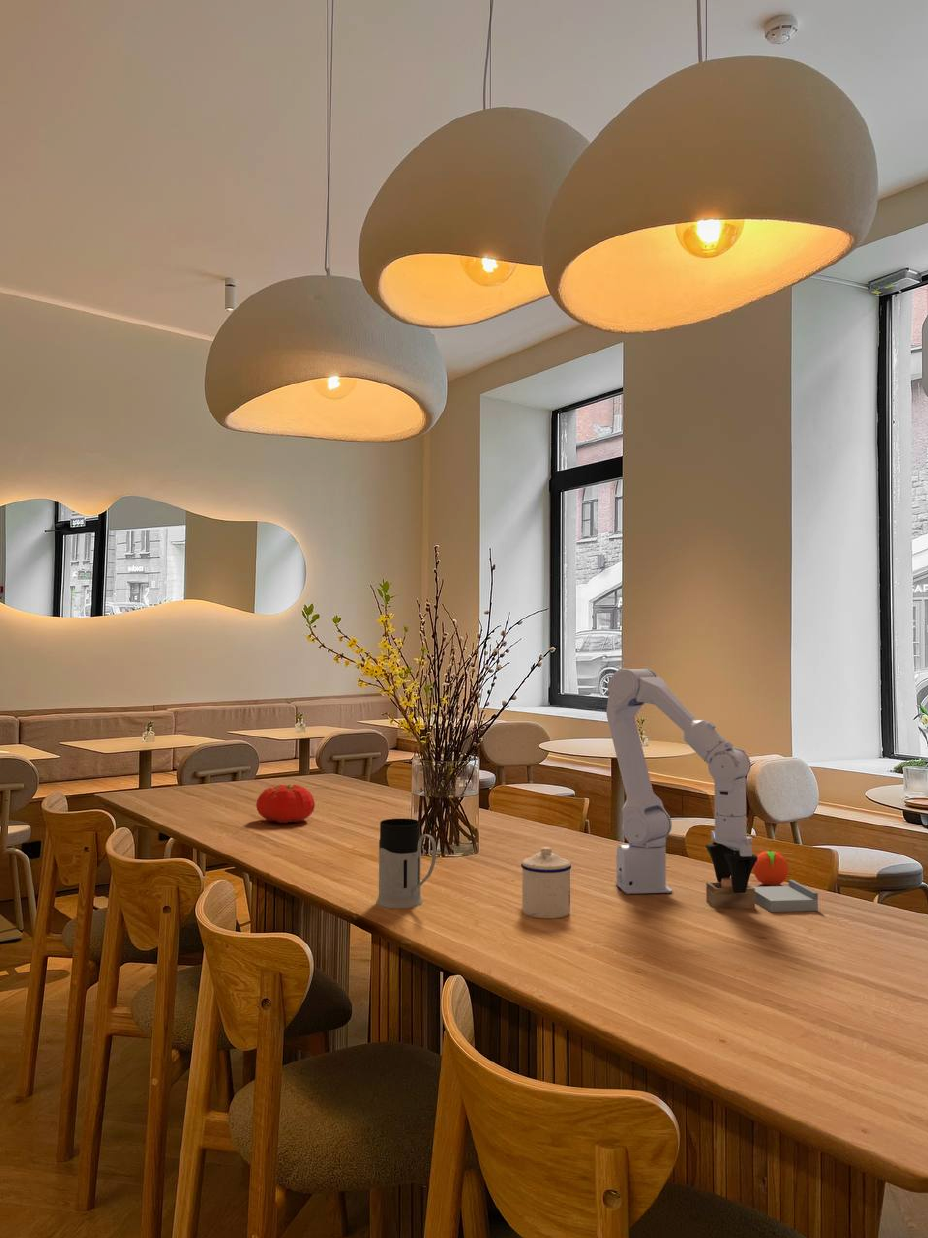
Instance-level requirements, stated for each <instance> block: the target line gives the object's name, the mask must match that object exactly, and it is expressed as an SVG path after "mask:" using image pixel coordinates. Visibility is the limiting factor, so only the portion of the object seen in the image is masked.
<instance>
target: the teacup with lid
mask: <svg viewBox="0 0 928 1238" xmlns="http://www.w3.org/2000/svg"><path fill="white" fill-rule="evenodd" d="M552 851H553V850H552V848H551V847H548V846H542V847H541V848H540V851H539V852H537V853H534V855H532V856H529V857H527V858H526V857H525V858H524V859H523V860H522V861H521V865H520V866H521V869H522V872H521V874H522V876H521V877H522V878H521V879H522V881H521V883H522V890H521V892H522V905H521V906H522V907H521V908H522V912H523V913H524V915H526V916H528V917H531V918H537V919H542V920H543V919H545V920H546V919H547V920H549V919H550V920H551V919H560V918H564V917H566V916H568V915H569V914H570V913H571V868H572V864H571V862H570V860H568V859H566V858H563V857H560V855H559V854H556V853H555V852H552Z"/></svg>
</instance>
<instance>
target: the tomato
mask: <svg viewBox="0 0 928 1238" xmlns="http://www.w3.org/2000/svg"><path fill="white" fill-rule="evenodd" d="M255 805H256V811H257V812H258V814H259V815H260V816H261V817H263V819H265V820H267V821H269V822H271V821H276V822H275V823H278V822H279V823H278V824H281V823H284V824H289V823H292V822H297V823H300V822H301V821H304V820H306V819H307V818H309V817H310V816H311V815H312V813H313V812H314V810H315V806H316V804H315V799H314V797H313V794H311V792H310V791H309V790H308V789H306V788H305V787H303V786H300V785H297V784H293V785H291V784H288V785H287V784H279V785H276V786H273V787H269V788H266V789H264V790H263V791H262V792H261V793H260V794H259V795H258V798H257V799H256V804H255ZM299 821H300V822H299ZM288 822H289V823H288Z"/></svg>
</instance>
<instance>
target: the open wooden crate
mask: <svg viewBox="0 0 928 1238" xmlns="http://www.w3.org/2000/svg"><path fill="white" fill-rule="evenodd" d="M705 883H706V887H705V888H706V892H705V893H706V896H705V898H706V900H705V901H706V902H707V903H708V904H709V905H710V906H711V907H713V908H714V910H715V909H717V910H719V909H720V910H721V909H722V910H724V909H730V910H731V909H732V910H733V909H755V908H756V902H755V888H753V887H754V886H752V885H751V884H749V883H748V885H747V889H746V893H734V891H733V888H721V882H718V881H707V882H705Z"/></svg>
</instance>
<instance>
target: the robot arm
mask: <svg viewBox="0 0 928 1238" xmlns="http://www.w3.org/2000/svg"><path fill="white" fill-rule="evenodd" d="M606 687H607V691H608V697H607V705H606V709H605V711H606V712H605V713H606V718H607V723H608V727H609V730H610V735H611V739H612V742H613V747H614V752H615V755H616V759H617V763H618V768H619V771H620V776H621V779H622V783H623V787H624V792H625V796H626V800H625V801H624V803H623V807H622V808H621V813H622V817H623V819H622V825H621V826H622V834H623V836H624V837H625V839H626V841H628V843H626V844H619V845H617V848H616V882H615V885H616V886H617V887H619V889H621V890H622V891H623V892H624V893H625V894H627V895H628V894H629V895H631V894H632V895H633V894H635V895H636V894H638V895H639V894H668V893H669V894H671V893H673V892H674V891H673V889H672V888H670V887H669V886H668V885H667V883H666V881H667V880H666V879H667V876H666V875H667V873H666V872H667V869H666V867H667V863H666V861H667V860H666V859H667V858H666V857H667V856H666V855H667V854H666V851H667V850H666V845H667V844H666V843H667V837H668V836H669V835H670V833H671V831H672V827H673V823H672V819H671V817H670V814H668V812H667V810H666V809H665V806H664V803H663V801H662V799H660V797H659V796H658V795H656V794H655V792H654V789H653V786H652V781H651V777H650V774H649V770H648V765H647V762H646V758H645V753H644V750H643V747H642V741H641V737H640V734H639V730H638V729H639V728H638V726H637V723H636V715H637V714H638V712H639V711H640V710H641V708H642V706H644V705H646V704H648V705H649V704H650V705H654V706H655V707H657V708H658V709H659V710H660V711H661V712H662V713H663V714H664V715H666V716H667V717H668V718H669V719H670V720H671V721H672V722H673V723H674V724H675V725H677V727H678V728H680V729H681V730H682V731H683V739H684V741H685V743H687V745H688V746H689V747H690V748H691V749H692V750H693V752H695V753H696V754H697V755H698V756H699V757H700V758H701V760H702V761H704V762H705V764H706V765H707V768H708V771H709V772H708V773H709V774H710V776H711V778H712V779H713V782H714V784H713V785H714V786H713V787H714V830H710V837H711V838H710V840H711V841H712V842H713V843H706V844H705V847H706V850H707V851H708V853H709V855H710V858H711V861H712V865H713V868H714V869H713V870H714V873H715V877H716V882H721V879H722V878H731V881H732V888H733V891H734V893H746V889H747V885H748V884H749V880H750V876H751V873H752V871H753V866H754V864H755V863H756V861H757V855H756V854H753V845H751V844H750V843H752V842H753V839H754V838H753V837H751V836H747V834H748V833H747V785H746V784H747V783H746V782H747V779H746V777H747V776H748V774H749V773H750V771H751V766H752V765H751V760H750V757H749V756H748V755H747V753H746V751H745V750H743V749H741V748H739V747H734V744H733V742H731V741H727V740H726V739H725V738H724V736H723V735H721V734H720V733H719V732H718V731H717V729H716V728H717V725H716V724H715V723H714V722H711V721H710V722H708V720H705V719H697V718H696V717H695V716H694V715H693V714H692V713H691V712H690V711H689V709H688V708H687V707H686V706H685V705H684V704H683V703H682V702H681V701H680V699H679V698H678V697H677V696H676V695H675V694H674V692H673V691H671V689H670V688H669V687H668V686H667V684H666V682H665V680H664V679H663V678H661V677H660V676H658V674H657V673H656V672H655V671H654V670H653V669H650V668H646V667H645V668H640V669H639V668H638V669H637V668H631V669H628V668H620V669H618V670H616V671H615V672H614V673H613V674H612V676H611V677H610V679H609V680H608V682H607V684H606Z"/></svg>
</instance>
